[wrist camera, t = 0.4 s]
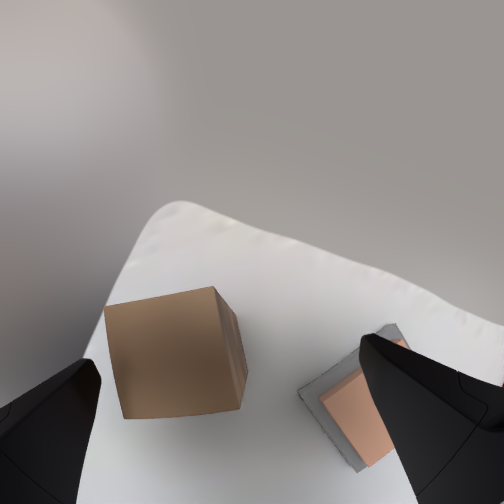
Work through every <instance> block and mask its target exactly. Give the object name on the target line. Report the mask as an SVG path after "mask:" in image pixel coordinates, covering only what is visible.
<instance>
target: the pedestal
mask: <svg viewBox="0 0 504 504" xmlns="http://www.w3.org/2000/svg"><path fill="white" fill-rule="evenodd" d="M376 334H377V335H379V336H381V337H383V338H386V339H388V340H390V341H392V342H394V343H396V344H399V345H401V346H403V347H405V348H407V349H410V347H409V345H408V343H407V342H406V340H405V338H404V337H403V335H402V333H401V332H400V330H399V328H398V327H397V325H396V323H394V324H388V325H386V326H385V327H383V328H382V329H381V330H380V331H379V332H377V333H376ZM359 349H360V347H359V348H358V349H357V350H355V351H354V352H353V353H351V354H350V355H349V356H347V357H346V358H345V359H343V360H342V361H341V362H339V363H338V364H337V365H335V366H334V367H333V368H331V369H330V370H328V371H327V372H326V373H324V374H323V375H321V376H320V377H318V378H317V379H315V380H314V381H313V382H311V383H310V384H308V385H307V386H305V387H304V388H302V389H300V390H299V391H297V392H298V393H299V395H300V396H301V397H302V399H303V400H304V402H305V403H306V405H307V406H308V408H309V409H310V410H311V412H312V413H313V415H314V416H315V417H316V419H317V420H318V422H319V423H320V424H321V426H322V427H323V429H324V430H325V431H326V433H327V434H328V436H329V437H330V438H331V440H332V441H333V443H334V444H335V445H336V447H337V448H338V449H339V451H340V452H341V453H342V455H343V456H344V457H345V459H346V460H347V461H348V463H349V464H350V465H351V467H352V468H353V469H354V470H355V471H356V473H358V472H360V471H361V470H363V469H364V468H365V467H367V466H368V467H370V466H371V465H373V464H374V463H376V462H377V461H378V460H380V459H381V458H382V457H384V456H385V455H386V454H387V453H389V452H390V451H391V450H392V449H394V448H395V447H394V445H393V443H392V440H391V438H390V436H389V434H388V432H387V429H386V427H385V425H384V423H383V421H382V419H381V417H380V414H379V412H378V410H377V408H376V406H375V404H374V402H373V399H372V397H371V394H370V391H369V388H368V385H367V382H366V380H365V377H364V374H363V371H362V368H361V365H360V362H359ZM410 350H411V349H410Z"/></svg>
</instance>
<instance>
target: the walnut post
mask: <svg viewBox="0 0 504 504" xmlns="http://www.w3.org/2000/svg"><path fill="white" fill-rule="evenodd" d="M104 316H105V324H106V332H107V339H108V346H109V352H110V358H111V364H112V369H113V374H114V379H115V384H116V388H117V393H118V397H119V401H120V405H121V409H122V413H123V417H124V419H154V418H171V417H183V416H194V415H202V414H211V413H218V412H225V411H231V410H237V409H240V405H241V401H242V396H243V392H244V388H245V383H246V379H247V375H248V369H247V364H246V360H245V355H244V351H243V346H242V342H241V337H240V332H239V328H238V323H237V318H236V315H235V313H234V312H233V311H232V310H231V308H230V307H229V306H228V304H227V303H226V302H225V301H224V299H223V298H222V297H221V296H220V294H219V293H218V292H217V290H216V289H215V288H214V287H213V286H211V287H206V288H201V289H196V290H191V291H186V292H181V293H175V294H170V295H165V296H160V297H154V298H149V299H143V300H138V301H133V302H127V303H121V304H116V305H110V306H105V307H104Z"/></svg>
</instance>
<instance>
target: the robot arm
mask: <svg viewBox="0 0 504 504" xmlns="http://www.w3.org/2000/svg"><path fill="white" fill-rule="evenodd" d="M359 362H360V365H361V368H362V371H363V374H364V377H365V380H366V382H367V385H368V388H369V391H370V394H371V397H372V399H373V402H374V404H375V406H376V408H377V410H378V412H379V414H380V417H381V419H382V421H383V423H384V425H385V427H386V429H387V432H388V434H389V436H390V438H391V440H392V443H393V445H394V447H395V449H396V451H397V454H398V456H399V458H400V460H401V463H402V465H403V467H404V470H405V472H406V474H407V477H408V479H409V481H410V484H411V486H412V489H413V491H414V493H415V496H417V497H416V499H417V501H418V504H504V388H503V387H499V386H496V385H493V384H490V383H487V382H484V381H481V380H478V379H476V378H473V377H471V376H468V375H466V374H464V373H461V372H459V371H458V372H457V371H456V370H454V369H452V368H450V367H448V366H445V365H443V364H441V363H439V362H436V361H434V360H432V359H430V358H427V357H425V356H423V355H421V354H418V353H416V352H414V351H412V350H410V349H407V348H405V347H403V346H401V345H399V344H396V343H394V342H392V341H390V340H388V339H386V338H383V337H381V336H379V335H377V334H375V333H371V334H367V335H363V336H362V338H361V342H360V349H359ZM100 388H101V376H100V374H99V372H98V370H97V368H96V366H95V364H94V362H93V361H92V360H91V359H86V358H82V359H79V360H78V361H76V362H75V363H73V364H71V365H70V366H68V367H67V368H65V369H63V370H62V371H60V372H58V373H57V374H55V375H54V376H52V377H50V378H49V379H48V380H46V381H44V382H42V383H41V384H39V385H38V386H36V387H34V388H33V389H31V390H29V391H28V392H26V393H25V394H23V395H21V396H20V397H18V398H17V399H15V400H13V401H12V402H10V403H9V404H7V405H5V406H4V407H2V408H0V504H76V501H77V494H78V489H79V483H80V478H81V473H82V468H83V464H84V459H85V455H86V451H87V446H88V442H89V438H90V435H91V431H92V427H93V423H94V419H95V415H96V409H97V404H98V398H99V393H100Z"/></svg>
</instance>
